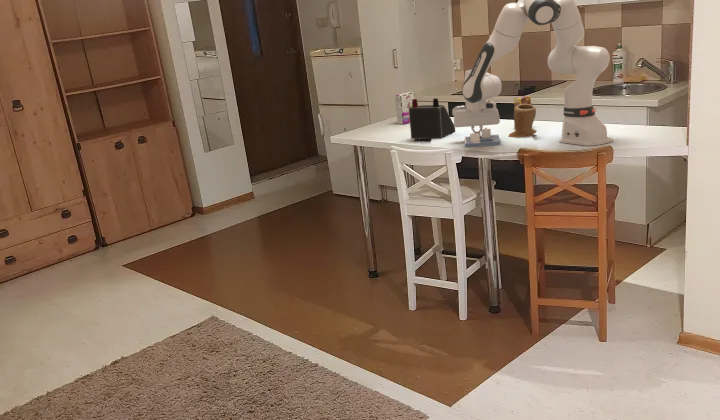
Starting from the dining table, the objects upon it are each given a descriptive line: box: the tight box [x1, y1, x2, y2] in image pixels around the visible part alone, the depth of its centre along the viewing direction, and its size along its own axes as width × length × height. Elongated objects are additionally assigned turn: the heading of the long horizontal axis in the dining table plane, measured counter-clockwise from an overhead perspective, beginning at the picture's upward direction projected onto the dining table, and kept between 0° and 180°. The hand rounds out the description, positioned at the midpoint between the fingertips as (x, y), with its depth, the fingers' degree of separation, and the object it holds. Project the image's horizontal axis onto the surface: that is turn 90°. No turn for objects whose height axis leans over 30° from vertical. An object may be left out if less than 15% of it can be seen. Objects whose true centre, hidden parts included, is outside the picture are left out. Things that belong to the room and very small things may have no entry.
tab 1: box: [469, 132, 480, 143], centre depth 287 cm, size 4×3×5 cm
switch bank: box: [464, 134, 501, 148], centre depth 291 cm, size 15×16×3 cm
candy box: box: [513, 95, 532, 131], centre depth 318 cm, size 9×4×15 cm, turn 134°
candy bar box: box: [394, 91, 416, 126], centre depth 368 cm, size 11×5×16 cm, turn 132°
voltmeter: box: [409, 97, 456, 142], centre depth 317 cm, size 16×16×20 cm
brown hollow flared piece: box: [507, 104, 537, 138], centre depth 298 cm, size 15×12×15 cm
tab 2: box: [480, 127, 492, 138], centre depth 294 cm, size 4×3×5 cm
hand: (477, 135), depth 295 cm, fingers closed
